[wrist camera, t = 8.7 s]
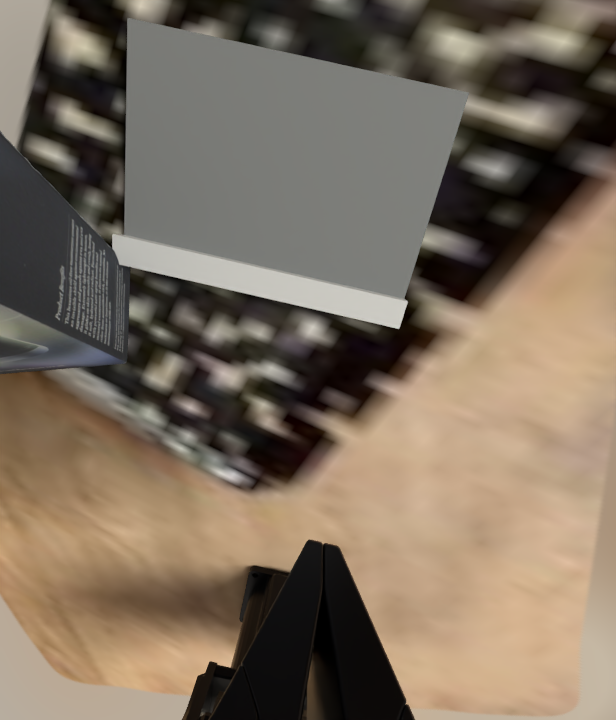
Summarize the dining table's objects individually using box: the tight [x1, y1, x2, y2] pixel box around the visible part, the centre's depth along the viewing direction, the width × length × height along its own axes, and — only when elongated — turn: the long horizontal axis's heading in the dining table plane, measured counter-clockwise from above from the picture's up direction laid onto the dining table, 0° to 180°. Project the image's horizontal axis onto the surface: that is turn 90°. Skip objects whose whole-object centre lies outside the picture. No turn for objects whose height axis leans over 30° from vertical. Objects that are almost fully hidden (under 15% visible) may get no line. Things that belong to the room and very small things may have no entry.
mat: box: [112, 18, 469, 329], centre depth 16 cm, size 11×16×2 cm
